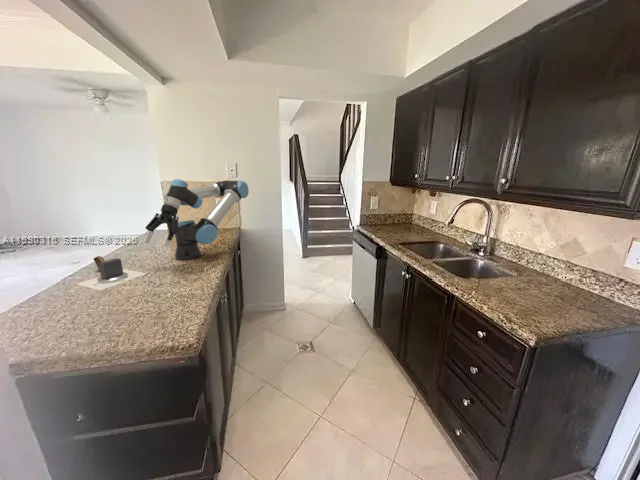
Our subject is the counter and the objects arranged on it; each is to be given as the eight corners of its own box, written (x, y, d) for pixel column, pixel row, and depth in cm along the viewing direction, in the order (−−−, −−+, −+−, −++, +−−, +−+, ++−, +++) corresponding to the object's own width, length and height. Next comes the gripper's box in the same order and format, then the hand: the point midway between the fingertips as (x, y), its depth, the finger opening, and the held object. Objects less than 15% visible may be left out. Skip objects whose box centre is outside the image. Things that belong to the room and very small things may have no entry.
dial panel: (124, 271, 147) (123, 268, 146) (147, 276, 140) (146, 273, 140) (76, 287, 127) (75, 283, 127) (100, 293, 121) (100, 290, 120)
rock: (95, 265, 149) (84, 269, 140) (105, 252, 150) (94, 255, 140) (114, 275, 152) (105, 280, 142) (124, 263, 152) (115, 266, 143)
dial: (117, 272, 141) (114, 256, 139) (133, 275, 137) (130, 258, 134) (91, 280, 130) (87, 263, 128) (107, 284, 126) (104, 266, 124)
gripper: (148, 202, 144) (131, 239, 138) (183, 205, 135) (167, 245, 129) (159, 208, 151) (144, 243, 145) (194, 211, 142) (179, 249, 136)
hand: (155, 244), depth 137 cm, fingers open, 13 cm apart
